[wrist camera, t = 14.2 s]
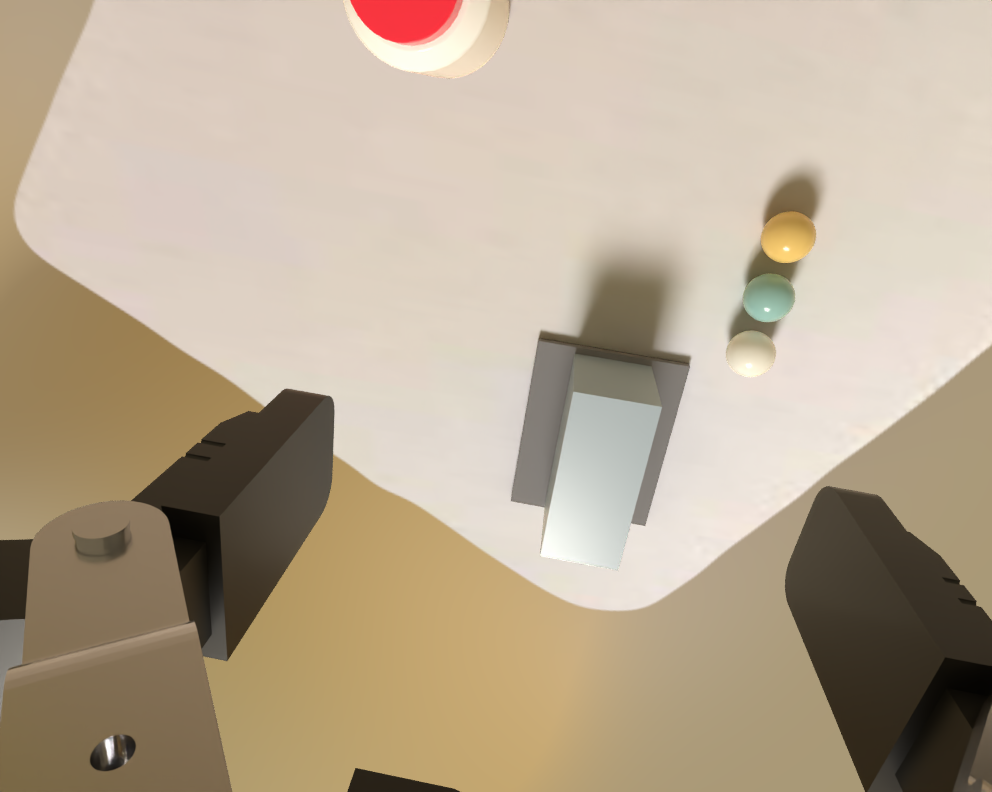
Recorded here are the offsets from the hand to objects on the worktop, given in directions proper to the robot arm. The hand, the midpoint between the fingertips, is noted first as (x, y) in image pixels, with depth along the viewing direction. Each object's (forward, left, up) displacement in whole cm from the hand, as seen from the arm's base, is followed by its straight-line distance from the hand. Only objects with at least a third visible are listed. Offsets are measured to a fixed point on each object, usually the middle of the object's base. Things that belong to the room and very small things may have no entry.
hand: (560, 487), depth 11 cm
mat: (+17, +4, -36) cm, 40 cm away
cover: (+17, +5, -36) cm, 40 cm away
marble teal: (+4, +14, -36) cm, 39 cm away
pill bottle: (-10, -10, -36) cm, 39 cm away
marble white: (+8, +14, -36) cm, 39 cm away
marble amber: (0, +14, -36) cm, 39 cm away
